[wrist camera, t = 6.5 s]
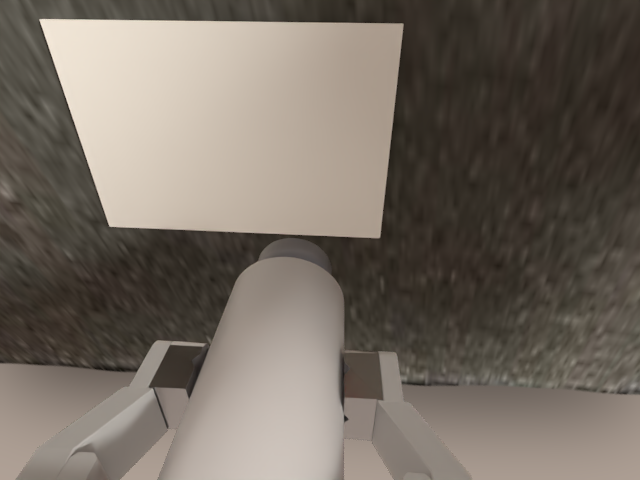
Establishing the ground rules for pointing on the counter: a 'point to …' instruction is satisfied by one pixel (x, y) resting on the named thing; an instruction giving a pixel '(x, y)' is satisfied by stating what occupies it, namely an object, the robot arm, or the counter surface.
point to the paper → (233, 121)
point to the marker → (270, 377)
